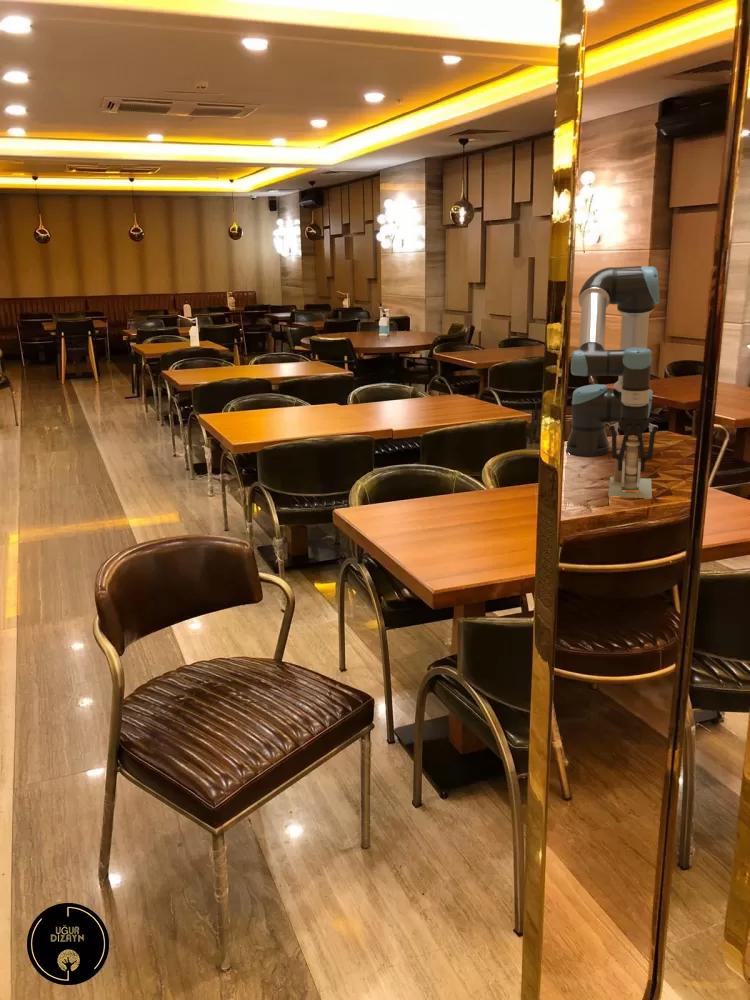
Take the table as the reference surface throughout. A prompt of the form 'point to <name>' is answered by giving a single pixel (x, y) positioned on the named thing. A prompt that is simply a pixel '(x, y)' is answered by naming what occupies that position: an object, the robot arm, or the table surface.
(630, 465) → the peg
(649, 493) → the board
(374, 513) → the table surface
